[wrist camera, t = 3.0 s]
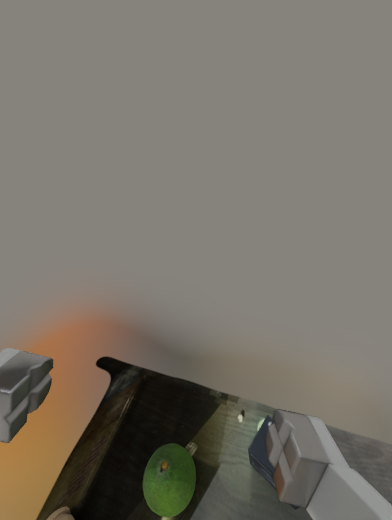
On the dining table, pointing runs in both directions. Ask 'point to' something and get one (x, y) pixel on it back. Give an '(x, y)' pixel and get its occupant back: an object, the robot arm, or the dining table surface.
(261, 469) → the box
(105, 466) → the dining table surface
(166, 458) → the fruit
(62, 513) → the ammunition
